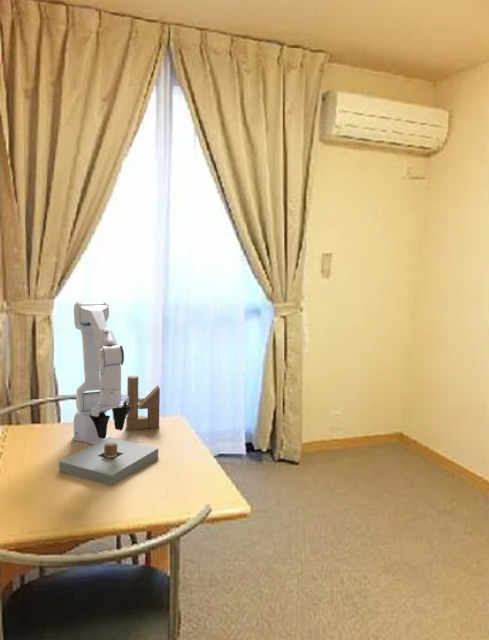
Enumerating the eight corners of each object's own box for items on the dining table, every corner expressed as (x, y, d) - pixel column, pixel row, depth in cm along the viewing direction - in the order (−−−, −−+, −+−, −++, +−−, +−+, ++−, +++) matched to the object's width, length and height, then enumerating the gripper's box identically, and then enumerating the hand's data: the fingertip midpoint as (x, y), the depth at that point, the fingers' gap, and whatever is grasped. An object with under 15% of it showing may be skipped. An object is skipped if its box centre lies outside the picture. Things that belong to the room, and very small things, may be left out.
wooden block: (159, 428, 201) (160, 377, 198) (127, 430, 197) (127, 378, 194) (157, 424, 204) (158, 374, 201) (126, 426, 201) (126, 375, 198)
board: (59, 471, 164) (59, 461, 163) (109, 446, 183) (109, 436, 183) (111, 486, 156) (111, 475, 156) (158, 457, 176) (158, 448, 175)
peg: (101, 465, 169) (101, 445, 168) (109, 461, 172) (109, 441, 171) (111, 468, 167) (111, 448, 166) (119, 463, 171) (120, 444, 170)
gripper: (105, 396, 158) (105, 444, 160) (137, 383, 171) (137, 428, 173) (84, 392, 161) (85, 439, 163) (117, 380, 174) (117, 424, 176)
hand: (110, 433), depth 168 cm, fingers open, 7 cm apart
